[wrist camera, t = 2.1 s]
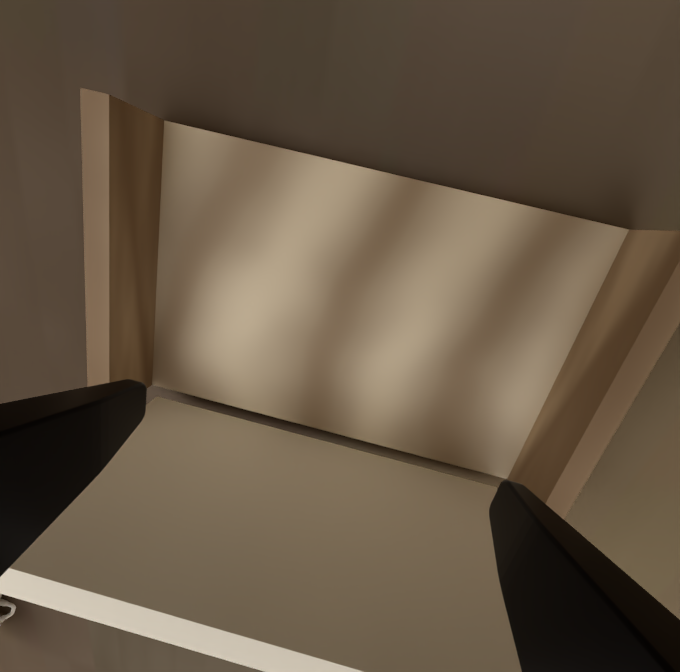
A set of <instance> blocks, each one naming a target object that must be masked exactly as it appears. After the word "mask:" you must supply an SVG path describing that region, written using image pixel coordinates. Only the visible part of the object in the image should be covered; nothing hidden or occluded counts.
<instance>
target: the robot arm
mask: <svg viewBox="0 0 680 672" xmlns="http://www.w3.org/2000/svg"><path fill="white" fill-rule="evenodd" d="M146 392H147V388H146V385H145V384H144V383H143V382H139V381H135V380H132V379H125V380H120V381H115V382H110V383H104V384H99V385H94V386H89V387H84V388H79V389H74V390H69V391H64V392H58V393H53V394H48V395H43V396H38V397H33V398H28V399H23V400H18V401H12V402H7V403H2V404H0V577H1V576H2V575H3V574H4V573H5V572H6V571H7V570H8V569H9V567H10V566H11V565H12V564H13V563H14V562H15V561H16V560H17V559H18V558H19V557H20V556H21V555H22V554H23V553H24V552H25V551H26V550H27V549H28V548H29V547H30V546H31V545H32V544H33V543H34V541H35V540H36V539H37V538H38V537H39V536H40V535H41V534H42V533H43V532H44V531H45V530H46V529H47V528H48V527H49V526H50V525H51V524H52V523H53V522H54V521H55V520H56V519H57V518H58V517H59V515H60V514H61V513H62V512H63V511H64V510H65V509H66V508H67V507H68V506H69V505H70V504H71V503H72V502H73V501H74V500H75V499H76V498H77V497H78V496H79V495H80V494H81V493H82V492H83V491H84V489H85V488H86V487H87V486H88V485H89V484H90V483H91V482H92V481H93V480H94V479H95V478H96V477H97V476H98V475H99V474H100V472H101V471H102V470H103V469H104V468H105V467H106V465H107V464H108V463H109V462H110V461H111V459H112V458H113V457H114V456H115V454H116V453H117V452H118V450H119V449H120V448H121V447H122V445H123V444H124V443H125V442H126V440H127V439H128V438H129V437H130V435H131V434H132V433H133V432H134V430H135V429H136V428H137V427H138V425H139V424H140V423H141V421H142V420H143V418H144V416H145V412H146ZM489 518H490V525H491V532H492V538H493V545H494V551H495V558H496V565H497V571H498V577H499V582H500V587H501V591H502V595H503V599H504V603H505V607H506V611H507V615H508V619H509V623H510V627H511V631H512V635H513V639H514V643H515V647H516V651H517V655H518V659H519V662H520V666H521V670H522V672H680V620H679V619H678V618H677V617H676V616H675V615H674V614H672V613H671V612H670V611H669V610H668V609H667V608H665V607H664V606H663V605H662V604H661V603H660V602H658V601H657V600H656V599H655V598H654V597H653V596H652V595H650V594H649V593H648V592H647V591H646V590H645V589H643V588H642V587H641V586H640V585H639V584H638V583H636V582H635V581H634V580H633V579H632V578H631V577H630V576H628V575H627V574H626V573H625V572H624V571H623V570H621V569H620V568H619V567H618V566H617V565H616V564H614V563H613V562H612V561H611V560H610V559H609V558H608V557H606V556H605V555H604V554H603V553H602V552H601V551H599V550H598V549H597V548H596V547H595V546H594V545H593V544H591V543H590V542H589V541H588V540H587V539H586V538H584V537H583V536H582V535H581V534H580V533H579V532H577V531H576V530H575V529H574V528H573V527H572V526H571V525H569V524H568V523H567V522H566V521H565V520H564V519H562V518H561V517H560V516H559V515H558V514H557V513H556V512H554V511H553V510H552V509H551V508H550V507H549V506H547V505H546V504H545V503H544V502H543V501H542V500H540V499H539V498H538V497H537V496H536V495H535V494H534V493H532V492H531V491H530V490H529V489H528V488H527V487H525V486H524V485H523V484H521V483H517V482H514V481H510V480H504V481H502V482H501V484H500V486H499V488H498V490H497V492H496V494H495V496H494V498H493V500H492V502H491V505H490V508H489Z"/></svg>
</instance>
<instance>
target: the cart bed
mask: <svg viewBox="0 0 680 672" xmlns="http://www.w3.org/2000/svg"><path fill="white" fill-rule="evenodd" d="M80 99H81V139H82V179H83V219H84V259H85V299H86V339H87V379H88V387H89V386H94V385H99V384H104V383H110V382H115V381H120V380H125V379H132V380H135V381H139V382H143V383H144V384H145V385H146V388H148V387H149V386H151V385H155V386H159V387H162V388H166V389H170V390H174V391H178V392H181V393H185V394H189V395H193V396H196V397H200V398H204V399H208V400H211V401H215V402H219V403H223V404H226V405H230V406H234V407H238V408H241V409H245V410H249V411H253V412H257V413H260V414H264V415H268V416H272V417H275V418H279V419H283V420H287V421H290V422H294V423H298V424H302V425H305V426H309V427H313V428H317V429H321V430H324V431H328V432H332V433H336V434H339V435H343V436H347V437H351V438H354V439H358V440H362V441H366V442H369V443H373V444H377V445H381V446H384V447H388V448H392V449H396V450H400V451H403V452H407V453H411V454H415V455H418V456H422V457H426V458H430V459H433V460H437V461H441V462H445V463H448V464H452V465H456V466H460V467H463V468H467V469H471V470H475V471H479V472H482V473H486V474H490V475H494V476H497V477H501V478H505V479H507V480H510V481H514V482H517V483H521V484H523V485H524V486H525V487H527V488H528V489H529V490H530V491H531V492H532V493H534V494H535V495H536V496H537V497H538V498H539V499H540V500H542V501H543V502H544V503H545V504H546V505H547V506H549V507H550V508H551V509H552V510H553V511H554V512H556V513H557V514H558V515H559V516H560V517H561V518H562V519H565V517H566V515H567V514H568V512H569V510H570V508H571V507H572V505H573V503H574V502H575V500H576V498H577V497H578V495H579V493H580V491H581V490H582V488H583V486H584V485H585V483H586V481H587V480H588V478H589V476H590V474H591V473H592V471H593V469H594V468H595V466H596V464H597V463H598V461H599V459H600V457H601V456H602V454H603V452H604V451H605V449H606V447H607V446H608V444H609V442H610V440H611V439H612V437H613V435H614V434H615V432H616V430H617V429H618V427H619V425H620V423H621V422H622V420H623V418H624V417H625V415H626V413H627V412H628V410H629V408H630V406H631V405H632V403H633V401H634V400H635V398H636V396H637V395H638V393H639V391H640V389H641V388H642V386H643V384H644V383H645V381H646V379H647V378H648V376H649V374H650V372H651V371H652V369H653V367H654V366H655V364H656V362H657V361H658V359H659V357H660V355H661V354H662V352H663V350H664V349H665V347H666V345H667V344H668V342H669V340H670V338H671V337H672V335H673V333H674V332H675V330H676V328H677V327H678V325H679V323H680V231H662V230H629V229H624V228H620V227H616V226H612V225H607V224H603V223H599V222H594V221H590V220H586V219H582V218H577V217H573V216H569V215H565V214H560V213H556V212H552V211H548V210H543V209H539V208H535V207H531V206H526V205H522V204H518V203H514V202H509V201H505V200H501V199H496V198H492V197H488V196H484V195H479V194H475V193H471V192H467V191H462V190H458V189H454V188H450V187H445V186H441V185H437V184H433V183H428V182H424V181H420V180H416V179H411V178H407V177H403V176H399V175H394V174H390V173H386V172H381V171H377V170H373V169H369V168H364V167H360V166H356V165H352V164H347V163H343V162H339V161H335V160H330V159H326V158H322V157H318V156H313V155H309V154H305V153H301V152H296V151H292V150H288V149H284V148H279V147H275V146H271V145H266V144H262V143H258V142H254V141H249V140H245V139H241V138H237V137H232V136H228V135H224V134H220V133H215V132H211V131H207V130H203V129H198V128H194V127H190V126H186V125H181V124H177V123H173V122H169V121H164V120H162V119H160V118H158V117H156V116H154V115H151V114H149V113H147V112H145V111H143V110H141V109H139V108H137V107H134V106H132V105H130V104H128V103H126V102H124V101H122V100H120V99H117V98H115V97H113V96H111V95H109V94H105V93H100V92H96V91H92V90H87V89H83V88H80Z"/></svg>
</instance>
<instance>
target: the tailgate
mask: <svg viewBox="0 0 680 672" xmlns="http://www.w3.org/2000/svg"><path fill="white" fill-rule="evenodd" d="M496 492H497V487H495V486H491V485H487V484H484V483H480V482H476V481H472V480H469V479H465V478H461V477H457V476H454V475H450V474H446V473H442V472H439V471H435V470H431V469H427V468H424V467H420V466H416V465H412V464H409V463H405V462H401V461H397V460H394V459H390V458H386V457H382V456H379V455H375V454H371V453H367V452H364V451H360V450H356V449H353V448H349V447H345V446H341V445H338V444H334V443H330V442H326V441H323V440H319V439H315V438H311V437H308V436H304V435H300V434H296V433H293V432H289V431H285V430H281V429H278V428H274V427H270V426H266V425H263V424H259V423H255V422H251V421H248V420H244V419H240V418H236V417H233V416H229V415H225V414H221V413H218V412H214V411H210V410H206V409H203V408H199V407H195V406H191V405H188V404H184V403H180V402H176V401H173V400H169V399H165V398H161V397H158V396H157V397H156V398H154V399H153V400H152V401H150V402H149V403H148V404H147V405H146V412H145V416H144V418H143V420H142V421H141V423H140V424H139V425H138V427H137V428H136V429H135V430H134V432H133V433H132V434H131V435H130V437H129V438H128V439H127V440H126V442H125V443H124V444H123V445H122V447H121V448H120V449H119V450H118V452H117V453H116V454H115V456H114V457H113V458H112V459H111V461H110V462H109V463H108V464H107V465H106V467H105V468H104V469H103V470H102V471H101V472H100V474H99V475H98V476H97V477H96V478H95V479H94V480H93V481H92V482H91V483H90V484H89V485H88V486H87V487H86V488H85V489H84V491H83V492H82V493H81V494H80V495H79V496H78V497H77V498H76V499H75V500H74V501H73V502H72V503H71V504H70V505H69V506H68V507H67V508H66V509H65V510H64V511H63V512H62V513H61V514H60V515H59V517H58V518H57V519H56V520H55V521H54V522H53V523H52V524H51V525H50V526H49V527H48V528H47V529H46V530H45V531H44V532H43V533H42V534H41V535H40V536H39V537H38V538H37V539H36V540H35V541H34V543H33V544H32V545H31V546H30V547H29V548H28V549H27V550H26V551H25V552H24V553H23V554H22V555H21V556H20V557H19V558H18V559H17V560H16V561H15V562H14V563H13V564H12V565H11V566H10V567H9V569H8V570H7V571H6V572H5V573H4V574H3V575H2V576H1V577H0V594H4V595H7V596H10V597H14V598H17V599H21V600H24V601H27V602H31V603H34V604H38V605H41V606H44V607H48V608H51V609H55V610H58V611H61V612H65V613H68V614H71V615H75V616H78V617H82V618H85V619H88V620H92V621H95V622H99V623H102V624H105V625H109V626H112V627H115V628H119V629H122V630H126V631H129V632H132V633H136V634H139V635H143V636H146V637H149V638H153V639H156V640H160V641H163V642H166V643H170V644H173V645H176V646H180V647H183V648H187V649H190V650H193V651H197V652H200V653H204V654H207V655H210V656H214V657H217V658H220V659H224V660H227V661H231V662H234V663H237V664H241V665H244V666H248V667H251V668H254V669H258V670H261V671H265V672H522V670H521V666H520V662H519V659H518V655H517V651H516V647H515V643H514V639H513V635H512V631H511V627H510V623H509V619H508V615H507V611H506V607H505V603H504V599H503V595H502V591H501V587H500V582H499V577H498V571H497V565H496V558H495V551H494V545H493V538H492V532H491V525H490V518H489V508H490V505H491V502H492V500H493V498H494V496H495V494H496Z"/></svg>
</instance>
